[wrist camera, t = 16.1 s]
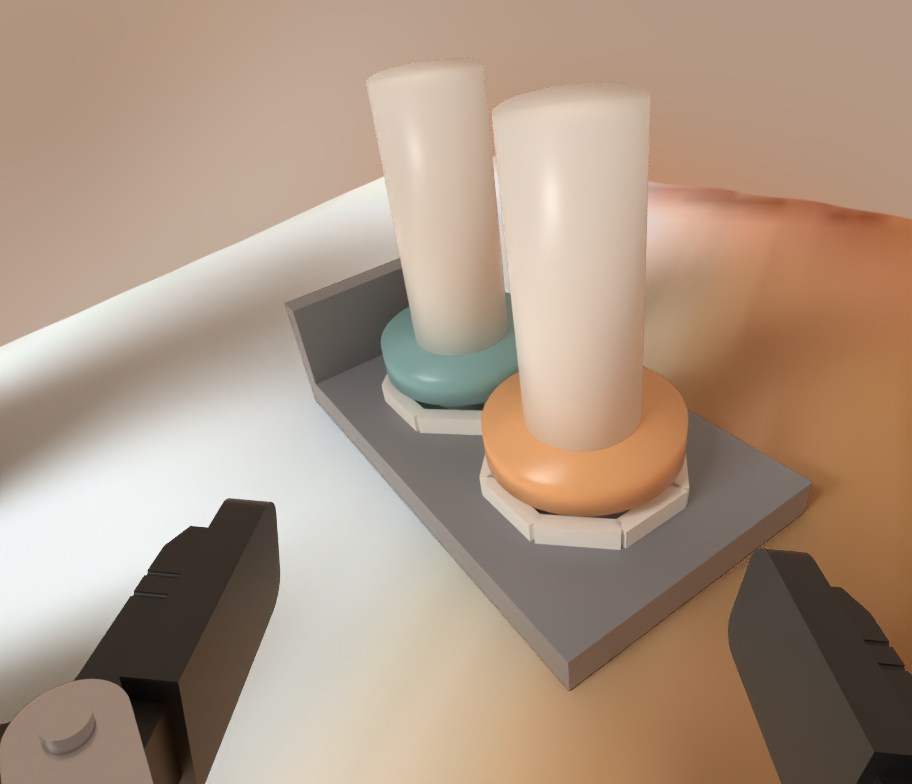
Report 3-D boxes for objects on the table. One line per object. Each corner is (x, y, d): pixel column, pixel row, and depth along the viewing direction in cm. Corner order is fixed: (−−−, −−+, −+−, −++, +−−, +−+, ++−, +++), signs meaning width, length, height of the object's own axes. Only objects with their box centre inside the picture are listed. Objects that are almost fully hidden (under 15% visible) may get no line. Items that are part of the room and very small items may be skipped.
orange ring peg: (454, 467, 26) (386, 121, 18) (588, 391, 29) (578, 60, 21) (576, 581, 21) (554, 170, 13) (726, 476, 24) (779, 82, 16)
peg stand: (315, 400, 33) (216, 90, 25) (493, 317, 37) (462, 28, 29) (569, 691, 20) (547, 231, 11) (804, 512, 24) (921, 75, 15)
